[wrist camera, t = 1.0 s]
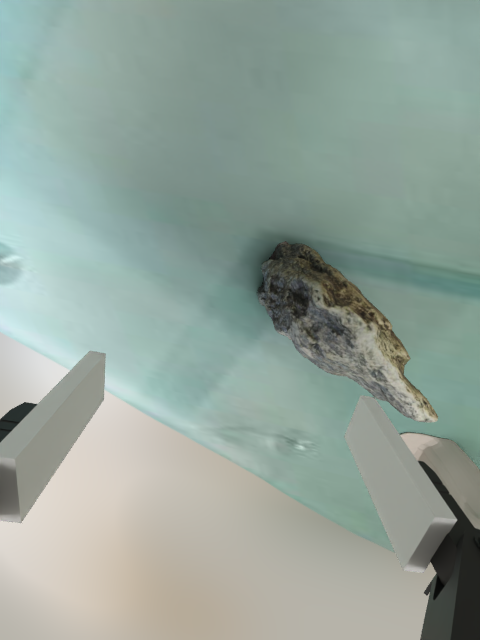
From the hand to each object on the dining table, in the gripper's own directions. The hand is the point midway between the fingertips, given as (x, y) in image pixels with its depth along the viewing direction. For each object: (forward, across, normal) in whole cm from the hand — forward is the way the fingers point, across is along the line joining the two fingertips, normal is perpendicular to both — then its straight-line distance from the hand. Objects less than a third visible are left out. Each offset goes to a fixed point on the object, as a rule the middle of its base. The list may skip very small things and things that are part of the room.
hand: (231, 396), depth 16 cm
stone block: (+25, +10, -1) cm, 27 cm away
